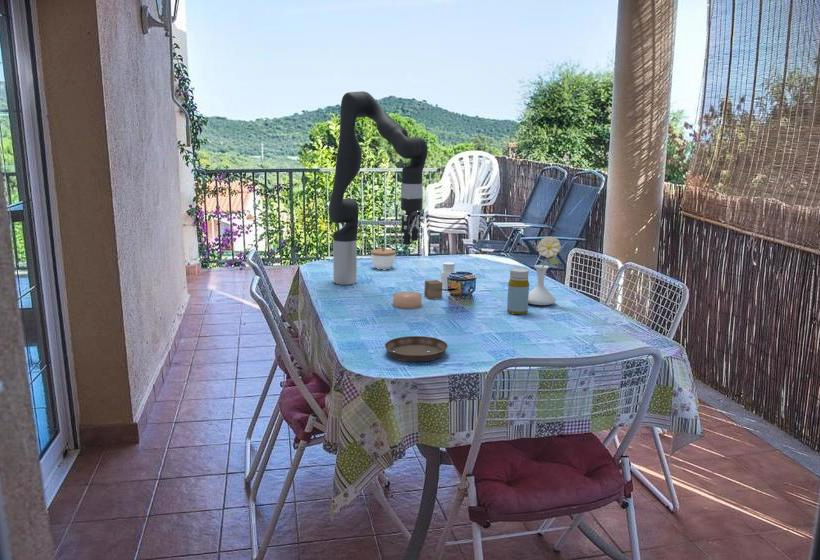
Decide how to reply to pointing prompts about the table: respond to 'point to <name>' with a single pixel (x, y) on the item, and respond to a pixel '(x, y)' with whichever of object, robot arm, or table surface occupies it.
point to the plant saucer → (416, 348)
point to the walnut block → (433, 289)
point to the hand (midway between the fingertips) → (410, 242)
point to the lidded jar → (383, 258)
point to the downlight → (446, 273)
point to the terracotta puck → (407, 300)
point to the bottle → (518, 291)
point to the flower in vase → (540, 293)
